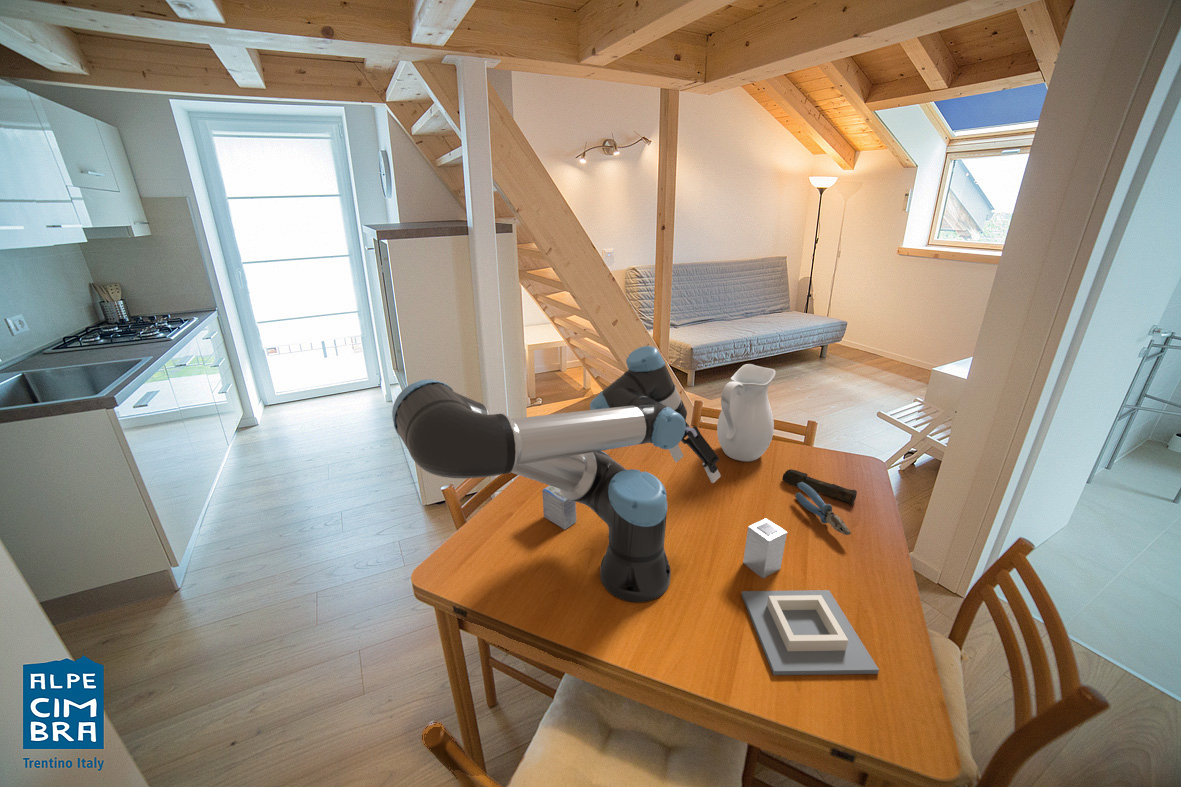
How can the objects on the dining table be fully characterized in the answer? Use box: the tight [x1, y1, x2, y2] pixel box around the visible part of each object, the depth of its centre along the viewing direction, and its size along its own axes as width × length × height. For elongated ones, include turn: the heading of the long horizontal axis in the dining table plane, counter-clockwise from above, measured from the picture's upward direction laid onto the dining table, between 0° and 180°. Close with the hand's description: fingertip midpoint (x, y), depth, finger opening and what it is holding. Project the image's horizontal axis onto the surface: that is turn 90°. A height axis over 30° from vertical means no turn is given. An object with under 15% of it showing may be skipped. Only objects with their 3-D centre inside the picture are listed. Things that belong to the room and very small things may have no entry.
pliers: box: [794, 482, 852, 536], centre depth 120 cm, size 20×2×6 cm, turn 11°
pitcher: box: [716, 363, 777, 462], centre depth 146 cm, size 24×17×28 cm
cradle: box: [741, 589, 880, 676], centre depth 89 cm, size 18×18×4 cm
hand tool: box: [782, 468, 858, 507], centre depth 132 cm, size 19×4×5 cm, turn 50°
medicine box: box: [541, 485, 577, 530], centre depth 120 cm, size 8×4×9 cm, turn 47°
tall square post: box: [742, 518, 788, 579], centre depth 104 cm, size 6×6×10 cm
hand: (696, 468), depth 120 cm, fingers open, 13 cm apart
